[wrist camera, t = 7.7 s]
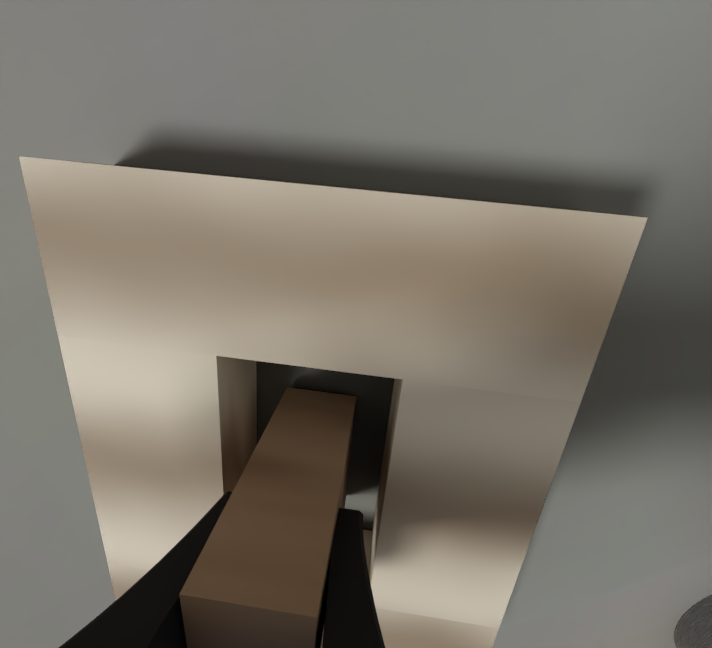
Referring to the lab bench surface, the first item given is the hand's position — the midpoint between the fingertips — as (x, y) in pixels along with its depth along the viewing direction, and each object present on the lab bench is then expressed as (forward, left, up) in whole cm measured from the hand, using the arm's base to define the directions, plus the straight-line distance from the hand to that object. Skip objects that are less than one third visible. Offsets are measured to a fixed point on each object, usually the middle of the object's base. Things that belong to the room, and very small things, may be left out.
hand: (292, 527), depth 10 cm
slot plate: (0, 0, -4) cm, 4 cm away
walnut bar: (0, 0, -4) cm, 4 cm away
